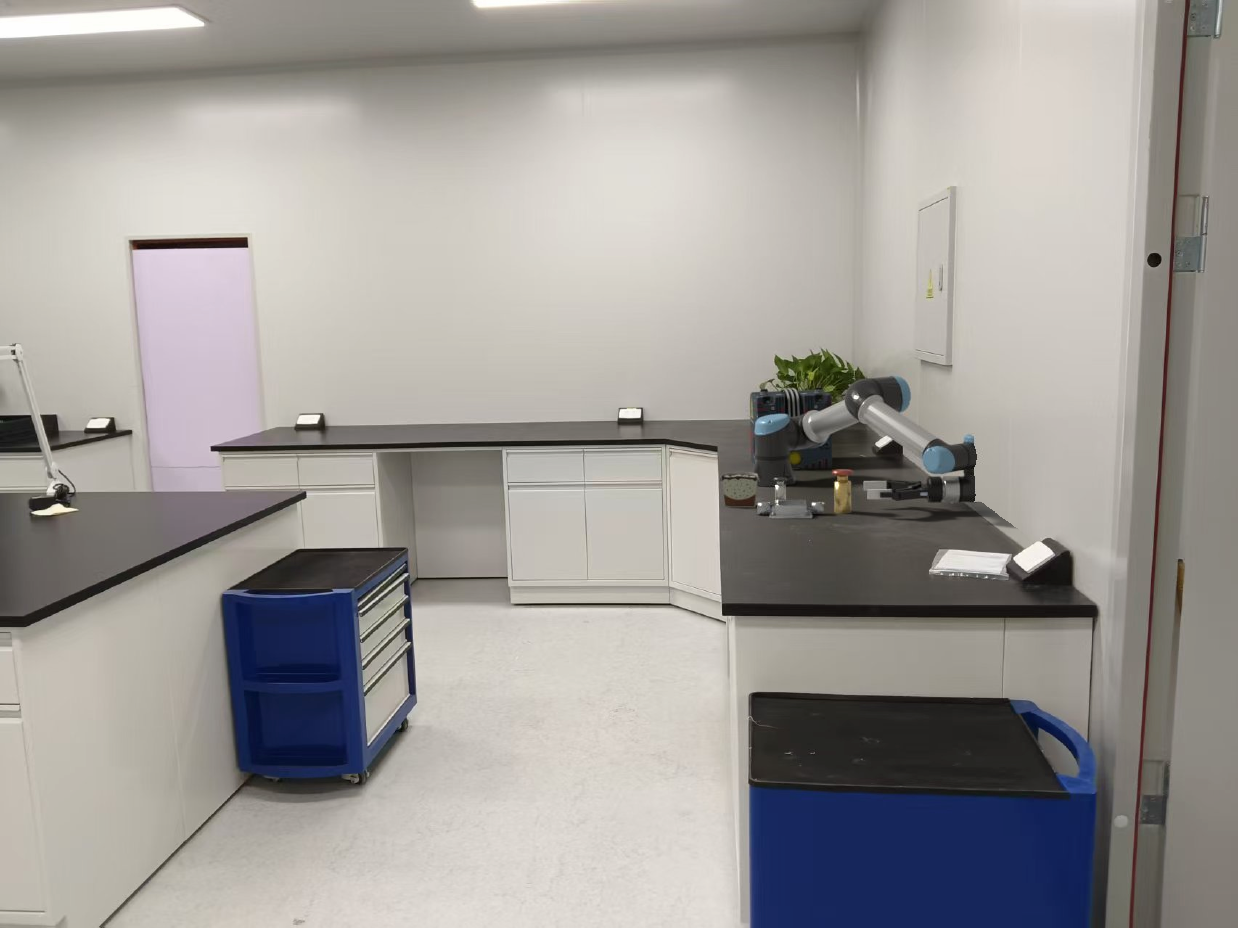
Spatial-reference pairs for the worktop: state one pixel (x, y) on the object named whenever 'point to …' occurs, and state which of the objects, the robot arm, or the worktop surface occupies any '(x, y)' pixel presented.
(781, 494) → the clear glass cylinder
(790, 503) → the flange socket
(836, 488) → the brass valve
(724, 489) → the food container
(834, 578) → the worktop surface
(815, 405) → the power unit
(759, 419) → the robot arm
